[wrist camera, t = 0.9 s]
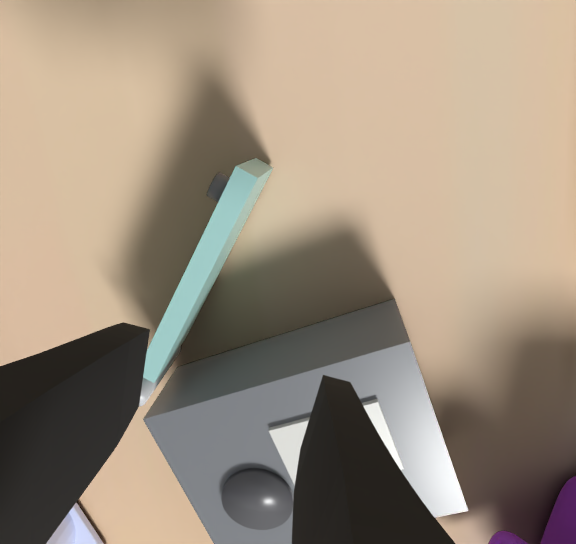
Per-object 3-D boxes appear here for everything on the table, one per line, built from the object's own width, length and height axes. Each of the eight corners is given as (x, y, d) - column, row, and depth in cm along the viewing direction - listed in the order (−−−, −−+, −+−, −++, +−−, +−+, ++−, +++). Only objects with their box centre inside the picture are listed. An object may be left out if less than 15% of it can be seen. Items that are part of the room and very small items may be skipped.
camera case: (241, 489, 23) (221, 566, 19) (177, 367, 21) (139, 424, 17) (444, 441, 21) (470, 517, 17) (394, 298, 19) (411, 345, 15)
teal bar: (176, 358, 21) (142, 410, 17) (148, 343, 21) (106, 392, 17) (274, 168, 17) (258, 179, 14) (241, 149, 17) (215, 154, 14)
